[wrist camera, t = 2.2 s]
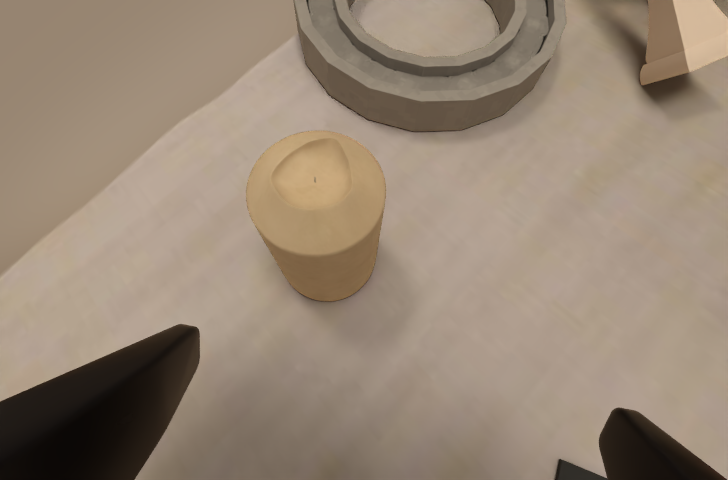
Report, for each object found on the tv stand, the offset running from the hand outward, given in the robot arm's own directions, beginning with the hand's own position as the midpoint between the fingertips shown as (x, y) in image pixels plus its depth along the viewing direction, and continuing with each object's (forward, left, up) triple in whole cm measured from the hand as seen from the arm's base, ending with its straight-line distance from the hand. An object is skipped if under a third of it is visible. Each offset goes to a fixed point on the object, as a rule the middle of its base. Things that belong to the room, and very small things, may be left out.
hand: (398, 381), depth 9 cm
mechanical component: (+25, +6, -14) cm, 29 cm away
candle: (+6, +5, -14) cm, 16 cm away
